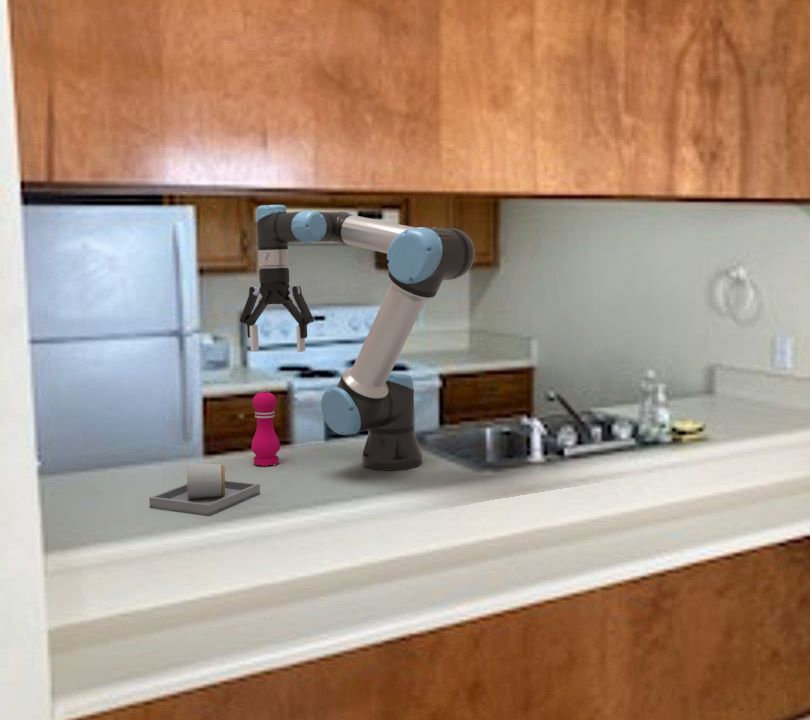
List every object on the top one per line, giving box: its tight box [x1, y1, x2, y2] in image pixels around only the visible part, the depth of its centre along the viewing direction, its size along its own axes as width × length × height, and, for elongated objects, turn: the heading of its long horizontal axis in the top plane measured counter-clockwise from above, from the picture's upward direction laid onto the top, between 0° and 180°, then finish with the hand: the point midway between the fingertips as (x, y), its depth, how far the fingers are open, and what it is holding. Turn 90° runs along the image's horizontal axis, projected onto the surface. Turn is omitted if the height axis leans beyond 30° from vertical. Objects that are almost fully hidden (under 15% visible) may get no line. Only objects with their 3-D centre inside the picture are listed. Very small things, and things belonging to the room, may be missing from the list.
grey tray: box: [148, 479, 261, 516], centre depth 201 cm, size 16×18×2 cm
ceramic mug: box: [186, 463, 226, 499], centre depth 203 cm, size 11×8×8 cm
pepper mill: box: [251, 385, 281, 467], centre depth 233 cm, size 7×7×20 cm
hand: (277, 351), depth 233 cm, fingers open, 13 cm apart
